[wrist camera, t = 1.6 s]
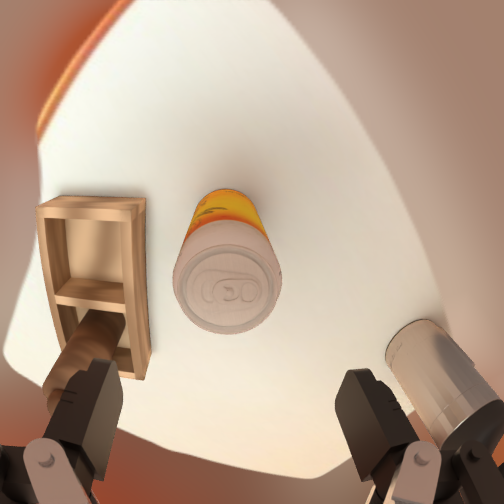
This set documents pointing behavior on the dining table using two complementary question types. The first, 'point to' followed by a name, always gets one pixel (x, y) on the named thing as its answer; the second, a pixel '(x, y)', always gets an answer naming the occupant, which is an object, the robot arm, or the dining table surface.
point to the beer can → (226, 266)
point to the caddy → (95, 285)
